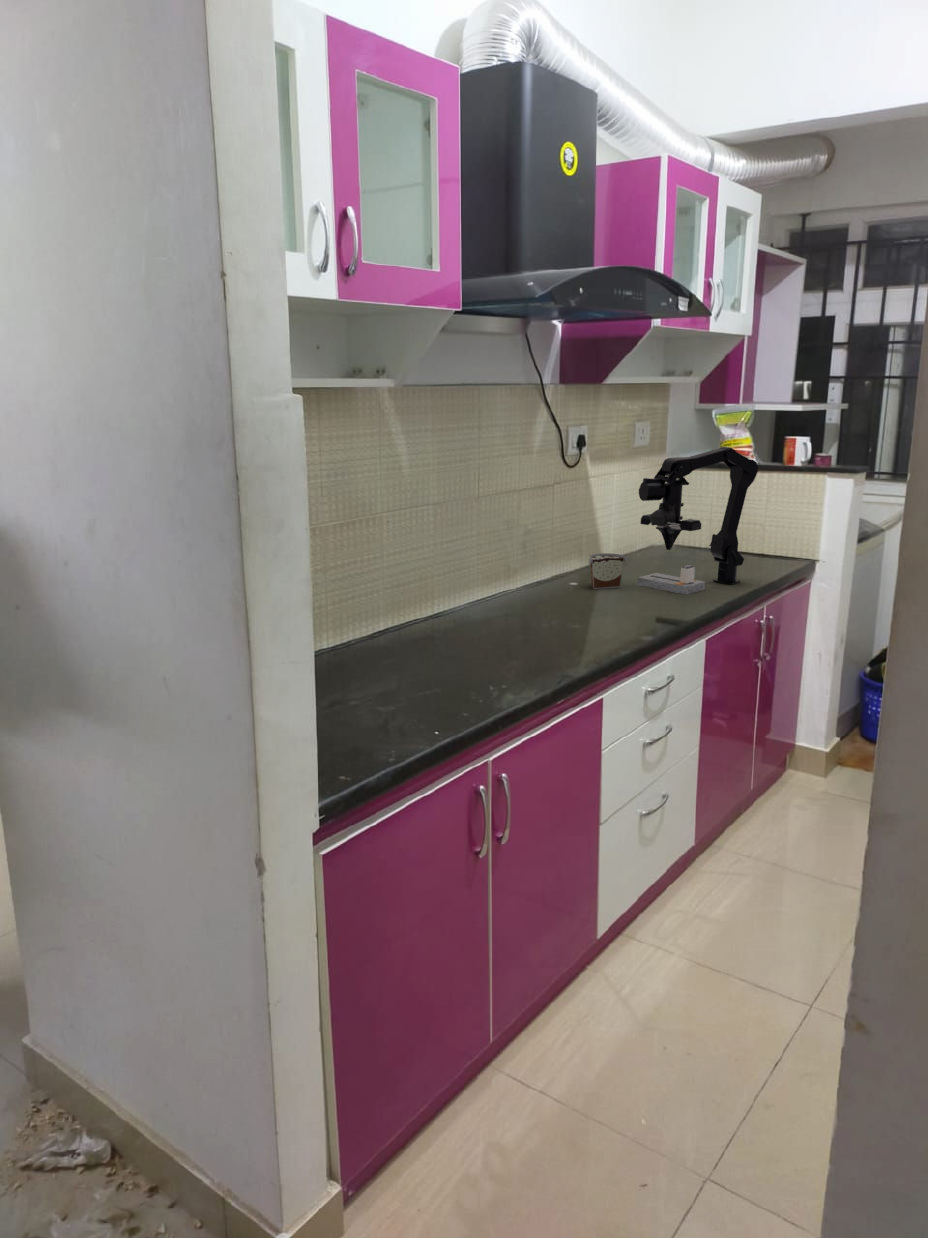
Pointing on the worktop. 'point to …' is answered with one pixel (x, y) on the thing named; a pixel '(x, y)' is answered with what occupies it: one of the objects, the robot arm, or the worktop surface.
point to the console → (670, 583)
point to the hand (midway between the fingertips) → (668, 549)
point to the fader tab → (687, 574)
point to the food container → (606, 570)
